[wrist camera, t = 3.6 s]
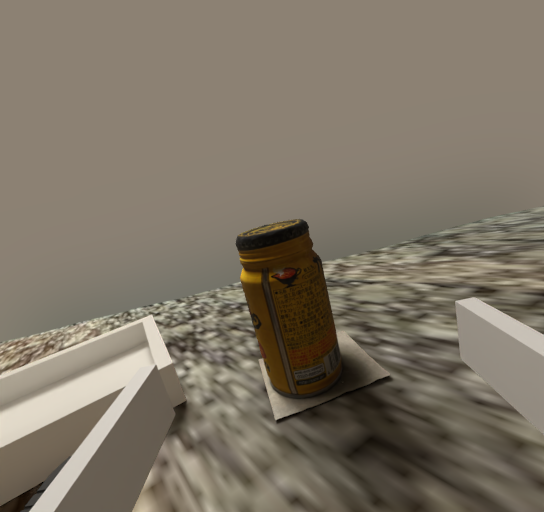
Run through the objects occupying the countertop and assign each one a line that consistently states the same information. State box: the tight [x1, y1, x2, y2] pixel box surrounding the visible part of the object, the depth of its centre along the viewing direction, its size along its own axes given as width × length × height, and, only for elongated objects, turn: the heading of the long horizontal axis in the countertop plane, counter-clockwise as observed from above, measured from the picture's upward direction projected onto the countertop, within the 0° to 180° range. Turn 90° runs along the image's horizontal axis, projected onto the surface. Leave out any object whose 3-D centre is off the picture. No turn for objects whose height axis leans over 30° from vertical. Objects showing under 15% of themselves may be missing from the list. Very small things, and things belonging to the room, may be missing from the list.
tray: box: [0, 315, 186, 506], centre depth 24 cm, size 17×14×4 cm
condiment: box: [236, 219, 390, 420], centre depth 21 cm, size 7×8×12 cm
